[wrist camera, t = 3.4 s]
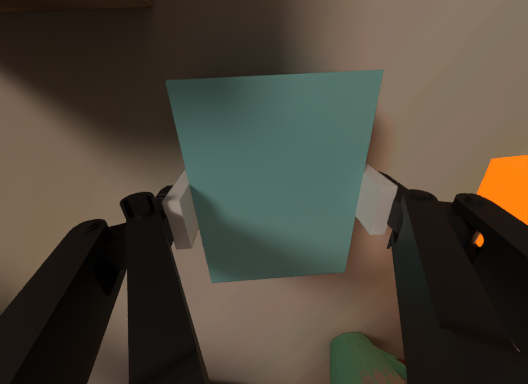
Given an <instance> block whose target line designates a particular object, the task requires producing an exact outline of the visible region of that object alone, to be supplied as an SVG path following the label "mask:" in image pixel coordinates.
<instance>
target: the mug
mask: <svg viewBox="0 0 528 384" xmlns="http://www.w3.org/2000/svg"><path fill="white" fill-rule="evenodd" d="M397 372H398V373H399V374H400V375H401V376H403V377H404V378H405V379H406V380H407V373H406V365H405V360H403V359H401V358H399V357H396V356H394V355H392V354H390V353H388V352H386V351H383V350H381V349H379V348H377V347H375V345H374V344H373V343H372V342H371V341H370V340H369V339H368V338H367V337H366V336H365V335H364V334H362V333H359V332H349V333H344V334H342V335H339V336H338V337H336V338H335V339H334V340H333V341H332V343H331V352H330V384H405V383H404V381H403V380H402V378H401V377H400V376H399V375H398V373H397Z"/></svg>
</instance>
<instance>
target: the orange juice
mask: <svg viewBox="0 0 528 384" xmlns="http://www.w3.org/2000/svg"><path fill="white" fill-rule="evenodd" d="M477 195H481V196H482V197H485V198H487V199H489V200H491V201H493V202H494V203H496V204H497V205H499V206H500V207H502V208H503V209H505V210H506V211H507V212H509V213H510V214H512V215H513V216H515V217H516V218H518V219H519V220H521V221H522V222H524V223H525V224H527V225H528V155H524V156H515V157H506V158H497V159H492V160H491V162H490V164H489V167H488V169H487V171H486V174H485V176H484V178H483V181H482V183H481V185H480V188H479V190H478V192H477ZM483 242H484V239H483V236H482V235H481V234H480V235H479V237H478V239H477V240H476V242H475V243H476V244H477V245H478V246H479V247H481V246H482V244H483Z"/></svg>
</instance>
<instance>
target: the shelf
mask: <svg viewBox="0 0 528 384" xmlns="http://www.w3.org/2000/svg"><path fill="white" fill-rule="evenodd" d="M141 7H153V4H152V0H0V13H11V12H37V11H63V10H89V9H115V8H141Z"/></svg>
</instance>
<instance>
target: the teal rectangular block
mask: <svg viewBox="0 0 528 384" xmlns="http://www.w3.org/2000/svg"><path fill="white" fill-rule="evenodd" d="M382 75H383V70H366V71H345V72H324V73H304V74H283V75H262V76H241V77H220V78H200V79H179V80H165V82H166V86H167V91H168V95H169V99H170V104H171V108H172V112H173V117H174V121H175V125H176V130H177V134H178V138H179V143H180V147H181V151H182V156H183V160H184V164H185V169H186V173H187V178H188V182H189V186H190V190H191V195H192V199H193V203H194V208H195V212H196V216H197V221H198V225H199V230H200V234H201V238H202V243H203V247H204V251H205V256H206V260H207V264H208V269H209V273H210V277H211V282H212V283H219V282H231V281H244V280H256V279H269V278H281V277H293V276H306V275H318V274H331V273H343V272H345V269H346V264H347V258H348V253H349V248H350V243H351V237H352V232H353V227H354V222H355V215H356V209H357V204H358V199H359V194H360V188H361V183H362V178H363V173H364V169H365V164H366V159H367V154H368V148H369V143H370V138H371V133H372V127H373V122H374V117H375V112H376V106H377V101H378V96H379V91H380V85H381V80H382Z"/></svg>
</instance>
